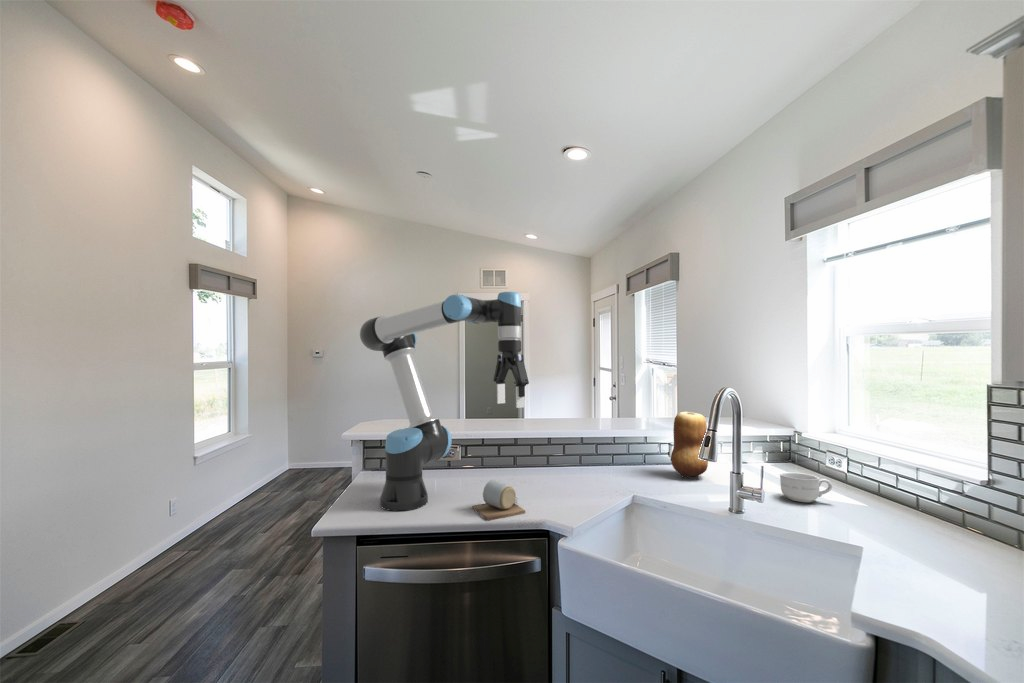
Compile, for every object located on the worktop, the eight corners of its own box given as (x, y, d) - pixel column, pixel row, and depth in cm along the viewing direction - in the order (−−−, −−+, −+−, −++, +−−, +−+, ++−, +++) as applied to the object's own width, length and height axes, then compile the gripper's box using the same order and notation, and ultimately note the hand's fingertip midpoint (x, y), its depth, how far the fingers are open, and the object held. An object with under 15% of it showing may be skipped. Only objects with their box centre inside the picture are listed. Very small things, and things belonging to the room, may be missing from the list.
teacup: (776, 500, 140) (776, 475, 140) (784, 492, 148) (783, 468, 148) (829, 510, 130) (828, 483, 131) (834, 501, 138) (833, 476, 139)
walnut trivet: (472, 508, 135) (472, 505, 135) (508, 501, 141) (508, 499, 141) (487, 520, 125) (487, 517, 125) (525, 513, 130) (525, 510, 130)
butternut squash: (708, 483, 158) (706, 415, 159) (669, 479, 164) (668, 413, 165) (708, 474, 171) (707, 410, 172) (672, 470, 176) (671, 409, 177)
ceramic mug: (501, 513, 128) (501, 487, 128) (482, 507, 133) (482, 481, 134) (524, 504, 136) (524, 480, 136) (505, 499, 141) (505, 475, 142)
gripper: (539, 338, 131) (540, 408, 130) (503, 341, 153) (503, 401, 152) (517, 338, 127) (518, 410, 126) (483, 341, 149) (484, 402, 148)
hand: (510, 405), depth 139 cm, fingers open, 13 cm apart
